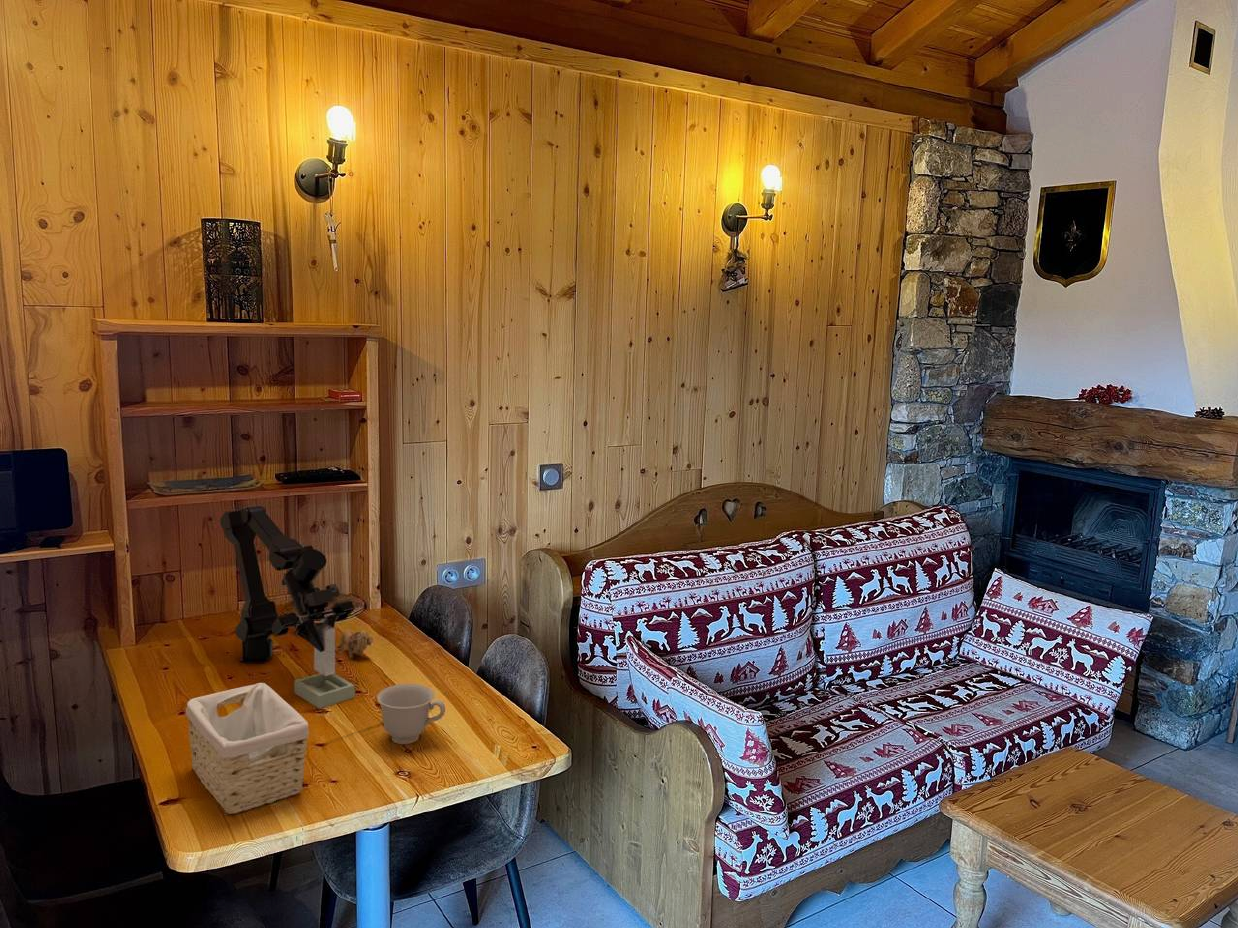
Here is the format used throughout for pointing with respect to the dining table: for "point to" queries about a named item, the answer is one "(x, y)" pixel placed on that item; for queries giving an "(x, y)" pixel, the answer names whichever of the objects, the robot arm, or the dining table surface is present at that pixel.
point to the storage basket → (247, 747)
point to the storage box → (324, 689)
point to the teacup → (407, 711)
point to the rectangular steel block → (325, 650)
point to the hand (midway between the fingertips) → (327, 649)
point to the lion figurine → (355, 642)
